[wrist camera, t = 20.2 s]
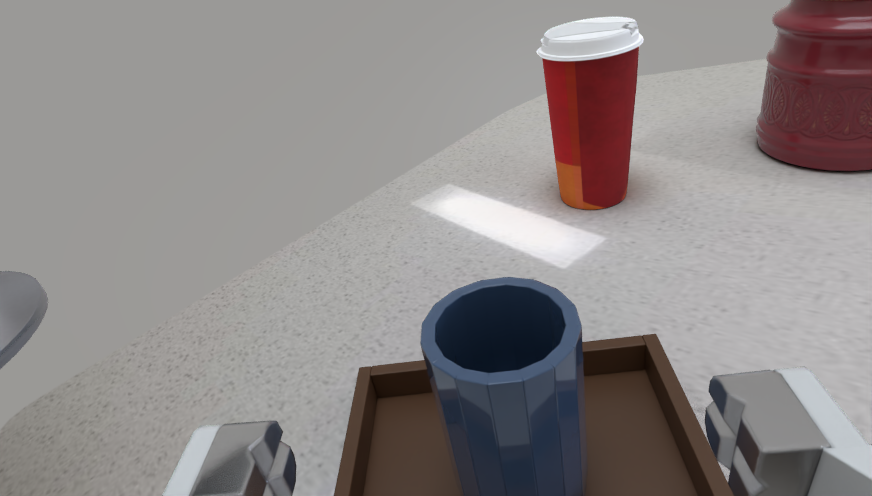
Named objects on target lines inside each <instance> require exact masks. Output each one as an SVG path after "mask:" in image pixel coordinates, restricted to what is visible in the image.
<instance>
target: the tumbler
mask: <svg viewBox="0 0 872 496" xmlns="http://www.w3.org/2000/svg"><path fill="white" fill-rule="evenodd" d="M421 348H422V352H423V356H424V360H425V364H426V367H427V371H428V375H429V379H430V383H431V387H432V391H433V395H434V399H435V403H436V406H437V410H438V414H439V418H440V422H441V426H442V430H443V434H444V438H445V442H446V445H447V449H448V453H449V457H450V461H451V465H452V469H453V473H454V477H455V481H456V484H457V487H458V489H459V492H460V495H461V496H585V493H586V488H587V476H588V464H587V441H586V418H585V395H584V371H583V348H582V325H581V322H580V319H579V316H578V312H577V309H576V307H575V305H574V304H573V303H572V302H571V301H570V300H569V299H568V298H567V297H566V296H565V295H564V294H563V293H561V292H560V291H559V290H558V289H556V288H554V287H551V286H549V285H546V284H544V283H541V282H539V281H536V280H533V279H524V278H514V277H503V278H495V279H487V280H481V281H477V282H474V283H472V284H469V285H466V286H464V287H461V288H458V289H456V290H454V291H452V292H451V293H449V294H448V295H447V296H445V297H444V298H443V299H441V300H440V301H439V302H437V303H436V304H435V305H434V306H433V307H432V309H431V310H430V312H429V313H428V315H427V317H426V318H425V320H424V321H423V323H422V330H421Z"/></svg>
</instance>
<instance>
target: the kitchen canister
mask: <svg viewBox="0 0 872 496" xmlns="http://www.w3.org/2000/svg"><path fill="white" fill-rule="evenodd" d="M772 22H773V24H774V25H775V26H776V28H777V29H778V31H777V36H776V40H775V45H774V47H773V48H772V49H771V50H770V51H769V52H768V54H767V61H768V66H767V73H766V79H765V86H764V93H763V99H762V106H761V112H760V114H759V116H758V118H757V126H756V132H757V135H758V139H757V141H758V145H759V147H760V148H761V149H762V150H763V151H764V152H765V153H767V154H768V155H770V156H772V157H774V158H776V159H778V160H781V161H784V162H787V163H790V164H794V165H798V166H802V167H807V168H814V169H822V170H833V171H862V170H872V0H791V1H790V2H789V4H788V5H786V6H784V7H783V8H781V9H780V10H778V11H777V12H776V13H775V14H774V16H773V17H772Z"/></svg>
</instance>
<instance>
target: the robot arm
mask: <svg viewBox="0 0 872 496" xmlns="http://www.w3.org/2000/svg"><path fill="white" fill-rule="evenodd" d="M709 393H710V395H711V396H712V398H713V400H714V401H713V402H712V403H711V404H710V405H709V406H708V407H706V414H705V425H706V432H707V437H708V440H709V443H710V446H711V449H712V451H713V453H714V455H715V457H716V460H717V461H718V462H720V463H721V464H722V465H724V466H725V467H727V468H728V469H729V470H730V475H729V481H728V485H729V487H730V489H731V491H732V493H733V495H734V496H872V444H871V445H870V444H869V443H868V442H867V441H866V439H865V438H864V437H863V436H862V434H861V433H860V432H859V430H858V429H857V428H856V427H855V425H854V424H853V423H852V422H851V420H850V419H849V418H848V416H847V415H846V414H845V413H844V411H843V410H842V409H841V408H840V406H839V405H838V404H837V403H836V401H835V400H834V399H833V397H832V396H831V395H830V394H829V392H828V391H827V390H826V389H825V387H824V386H823V385H822V383H821V382H820V381H819V380H818V378H817V377H816V376H815V375H814V373H813V372H812V371H811V370H809V369H808V368H806V367H795V368H786V369H776V370H763V371H754V372H745V373H736V374H727V375H718V376H713V378H712V379H711V381H710V385H709ZM282 433H283V431H282V429H281V428H280V426H279V424H278V422H277V421H260V422H246V423H232V424H221V425H209V426H200V427H199V428H198V429H197V430H196V431H194V432H193V434H192V436H191V438H190V440H189V442H188V444H187V446H186V448H185V450H184V452H183V454H182V456H181V458H180V460H179V462H178V464H177V466H176V468H175V470H174V472H173V474H172V476H171V478H170V480H169V482H168V485H167V487H166V489H165V491H164V493H163V495H162V496H292V494H293V490H294V486H295V482H296V462H295V457H294V454H293V452H292V450H291V447H290V446H288V445H287V444H285V443H283V442H282V441H280V440H281V436H282Z"/></svg>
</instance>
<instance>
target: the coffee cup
mask: <svg viewBox="0 0 872 496" xmlns="http://www.w3.org/2000/svg"><path fill="white" fill-rule="evenodd" d="M643 41H644V40H643V37H642V35H641V34H639V31H638V24H637V22H636V21H635V20H634V19H631V18H626V17H601V18H592V19H584V20H578V21H573V22H569V23H565V24H562V25H559V26H556V27H553V28H551V29H549V30H548V31H546V32H545V34H544V37H543V38H542V39H541V44H542V46H541V47H540V48H539V49H538V50H537V51H536V53H537V54H538V55H539V56H540V57H541V58H542V59H543V67H544V74H545V82H546V90H547V98H548V106H549V114H550V122H551V130H552V138H553V145H554V153H555V161H556V168H557V175H558V182H559V189H560V194H561V198H562V200H563V202H564V203H566V204H567V205H569V206H571V207H574V208H578V209H586V210H595V209H603V208H608V207H611V206H614V205H616V204H618V203H620V202H621V201H622V200H623V199H624V198H625V196H626V191H627V183H628V174H629V162H630V150H631V138H632V126H633V115H634V104H635V94H636V84H637V68H638V51H639V46H640V45H641V44H642V43H643Z"/></svg>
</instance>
